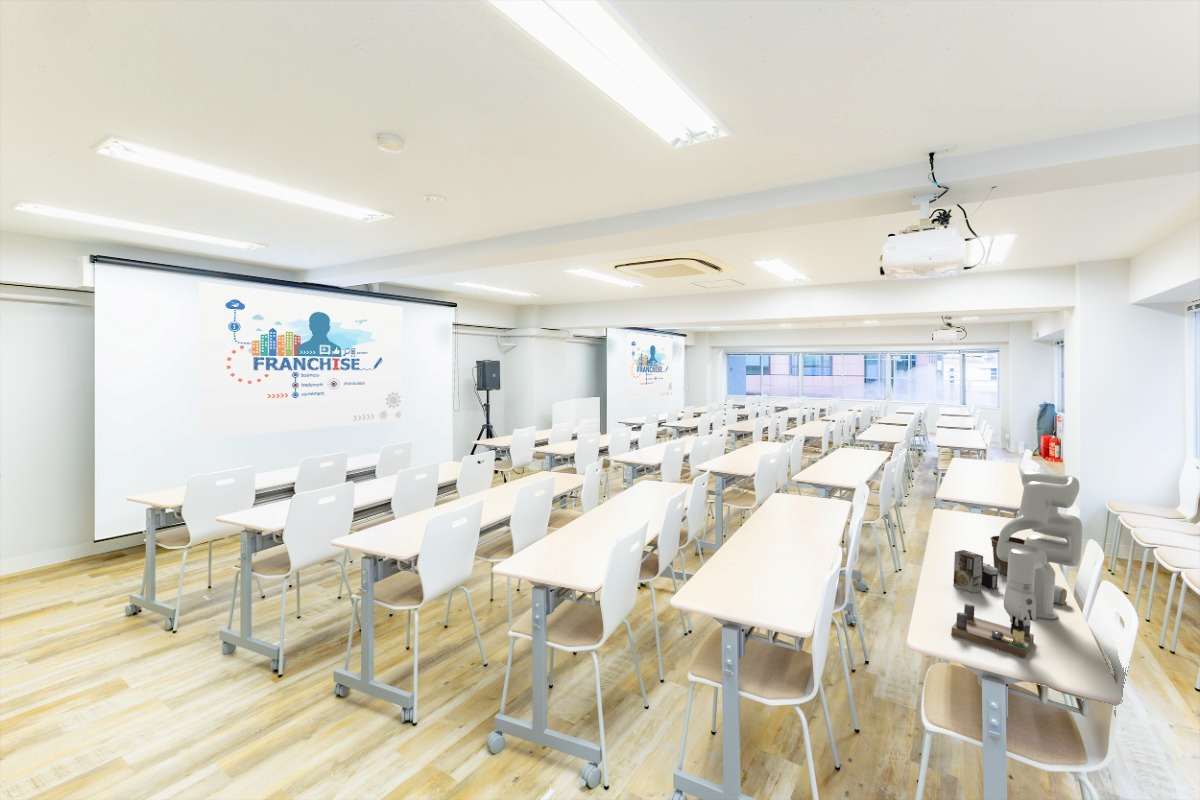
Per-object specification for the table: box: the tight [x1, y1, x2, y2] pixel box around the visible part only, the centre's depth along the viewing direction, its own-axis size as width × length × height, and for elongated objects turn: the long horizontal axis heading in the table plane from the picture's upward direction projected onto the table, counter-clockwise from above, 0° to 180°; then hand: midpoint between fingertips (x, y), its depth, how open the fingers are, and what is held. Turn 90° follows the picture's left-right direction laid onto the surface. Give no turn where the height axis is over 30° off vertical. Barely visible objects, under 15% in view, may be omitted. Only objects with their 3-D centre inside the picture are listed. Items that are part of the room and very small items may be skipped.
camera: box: [982, 562, 999, 590], centre depth 251 cm, size 14×9×10 cm, turn 0°
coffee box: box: [953, 549, 984, 594], centre depth 245 cm, size 9×6×16 cm
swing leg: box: [992, 629, 1024, 647], centre depth 191 cm, size 9×3×5 cm, turn 37°
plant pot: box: [989, 535, 1025, 577], centre depth 264 cm, size 16×16×16 cm
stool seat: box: [950, 603, 1035, 659], centre depth 200 cm, size 16×22×8 cm
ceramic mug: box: [1053, 584, 1068, 605], centre depth 233 cm, size 11×8×8 cm
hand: (1016, 635), depth 192 cm, fingers closed
